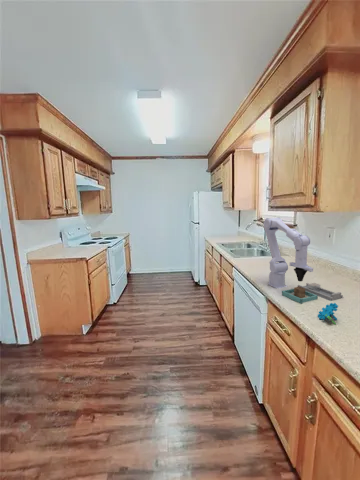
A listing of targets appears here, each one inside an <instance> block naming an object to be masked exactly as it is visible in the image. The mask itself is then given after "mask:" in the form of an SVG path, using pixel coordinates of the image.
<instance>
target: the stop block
mask: <svg viewBox="0 0 360 480" xmlns="http://www.w3.org/2000/svg"><path fill="white" fill-rule="evenodd" d="M293 289H294V292H293V295H294V296H296V297H298V298H301V299H302V298H306V295H305V288H302V287H300V286H299V287H298V286H296V287H293Z"/></svg>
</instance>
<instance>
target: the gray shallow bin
mask: <svg viewBox="0 0 360 480" xmlns="http://www.w3.org/2000/svg"><path fill="white" fill-rule="evenodd" d="M308 284H310V283H308V282H307V283H306V285H300V284H298V285H297V287H299V286H300V287H302V288H305V291H307V292H309V293H312V294H315V295H317V296H318V297H319V298H321V299H324V300H327V301H328V302H332V301H333V302H334V301H337V300H340V299H344V295H343V294H342V292H335V291H331V290H329V289H326V288H322V287H320V291H314V290H311V289H309V288H308Z"/></svg>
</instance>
